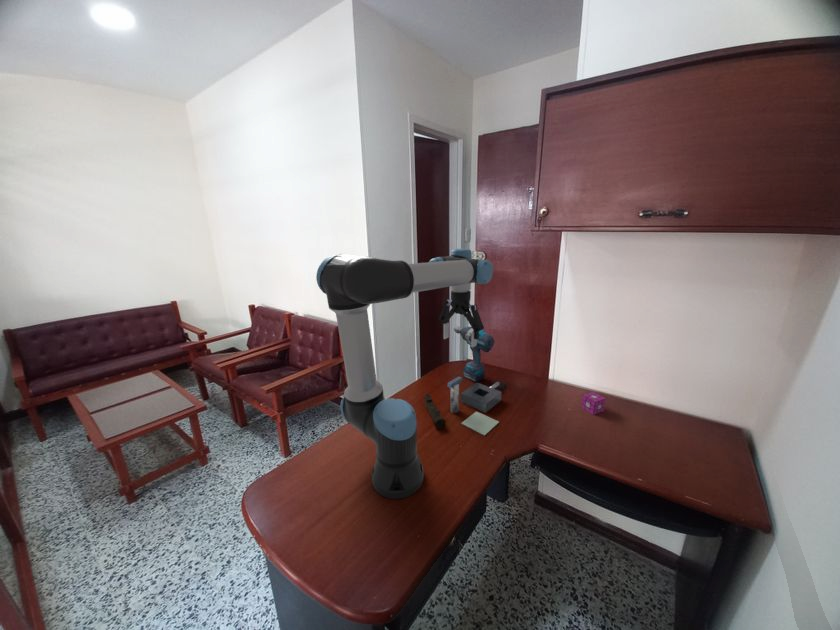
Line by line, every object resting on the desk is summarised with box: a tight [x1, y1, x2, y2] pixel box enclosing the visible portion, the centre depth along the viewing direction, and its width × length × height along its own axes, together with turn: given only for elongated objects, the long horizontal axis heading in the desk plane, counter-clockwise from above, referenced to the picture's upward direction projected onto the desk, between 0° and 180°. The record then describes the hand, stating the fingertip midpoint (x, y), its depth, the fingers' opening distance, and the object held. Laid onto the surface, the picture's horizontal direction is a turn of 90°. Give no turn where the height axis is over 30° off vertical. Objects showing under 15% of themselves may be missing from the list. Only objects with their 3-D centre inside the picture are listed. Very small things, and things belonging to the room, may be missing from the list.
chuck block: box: [460, 381, 502, 414], centre depth 131 cm, size 20×12×4 cm, turn 137°
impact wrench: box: [453, 325, 495, 383], centre depth 146 cm, size 8×23×25 cm, turn 40°
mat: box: [460, 411, 500, 436], centre depth 115 cm, size 10×10×1 cm
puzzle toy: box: [580, 391, 607, 416], centre depth 121 cm, size 6×6×6 cm
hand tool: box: [423, 393, 446, 430], centre depth 121 cm, size 19×4×5 cm, turn 13°
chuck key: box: [447, 376, 463, 414], centre depth 121 cm, size 7×3×14 cm, turn 137°
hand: (459, 342), depth 124 cm, fingers open, 13 cm apart
